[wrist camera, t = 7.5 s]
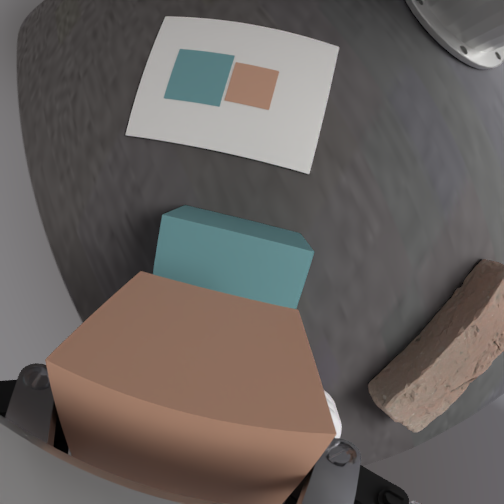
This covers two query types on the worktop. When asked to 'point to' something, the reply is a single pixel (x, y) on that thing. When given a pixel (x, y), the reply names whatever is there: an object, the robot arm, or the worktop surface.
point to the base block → (232, 256)
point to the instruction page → (235, 90)
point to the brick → (446, 352)
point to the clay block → (193, 393)
